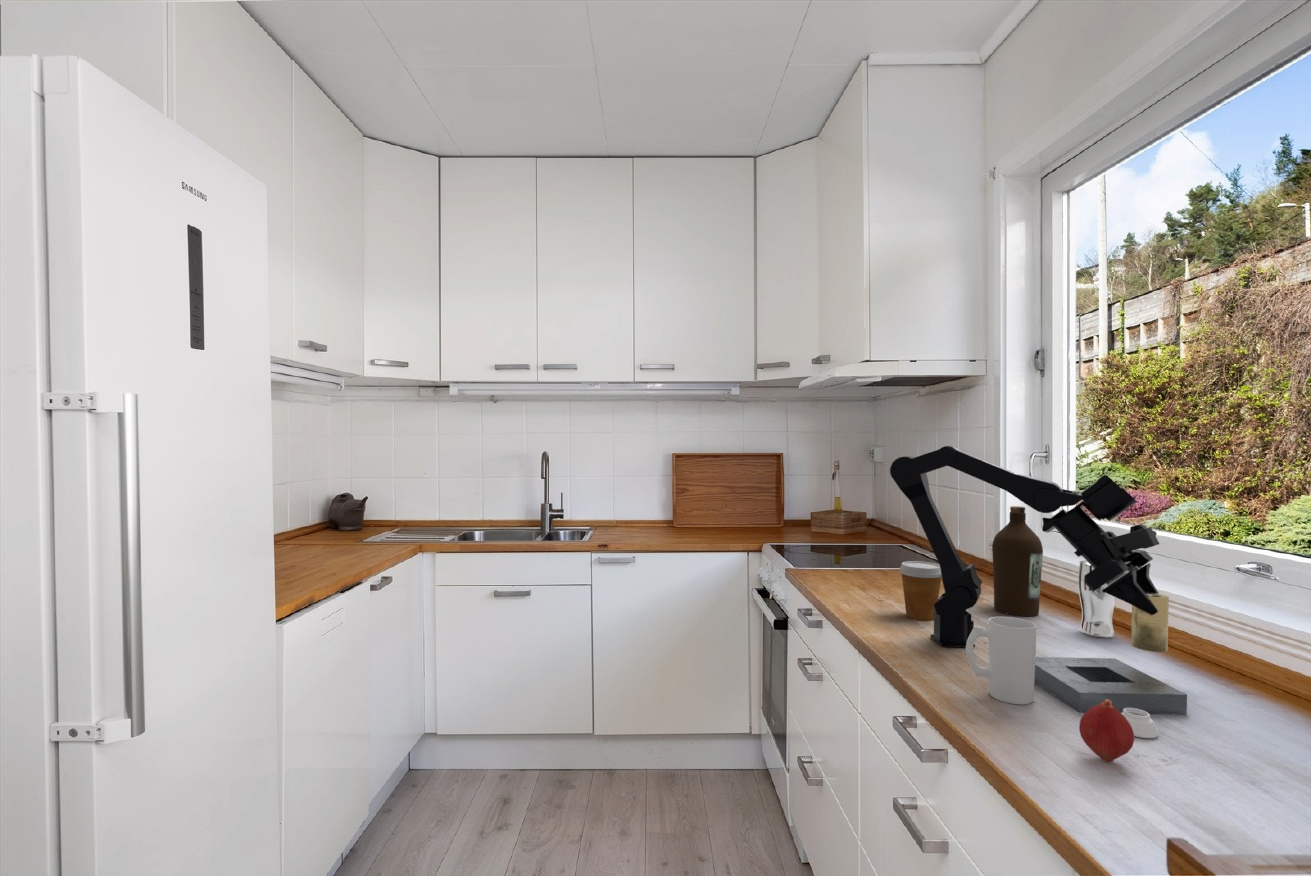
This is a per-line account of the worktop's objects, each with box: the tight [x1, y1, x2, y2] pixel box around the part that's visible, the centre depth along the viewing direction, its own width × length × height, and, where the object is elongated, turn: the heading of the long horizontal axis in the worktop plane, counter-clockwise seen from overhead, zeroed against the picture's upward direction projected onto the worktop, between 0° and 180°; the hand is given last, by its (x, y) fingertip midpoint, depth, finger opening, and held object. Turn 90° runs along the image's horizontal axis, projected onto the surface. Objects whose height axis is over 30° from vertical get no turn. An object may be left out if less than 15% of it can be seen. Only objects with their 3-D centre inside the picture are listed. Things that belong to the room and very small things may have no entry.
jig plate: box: [1034, 656, 1188, 715], centre depth 107 cm, size 16×16×3 cm
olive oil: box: [991, 505, 1044, 617], centre depth 157 cm, size 11×11×25 cm
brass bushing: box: [1130, 592, 1170, 653], centre depth 113 cm, size 5×5×9 cm
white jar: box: [1121, 708, 1159, 739], centre depth 93 cm, size 5×3×5 cm
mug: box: [965, 616, 1038, 705], centre depth 106 cm, size 10×7×12 cm, turn 71°
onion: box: [1078, 699, 1135, 763], centre depth 85 cm, size 6×6×8 cm
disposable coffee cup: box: [899, 560, 942, 621], centre depth 152 cm, size 10×10×12 cm
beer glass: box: [1077, 559, 1117, 639], centre depth 140 cm, size 7×7×15 cm
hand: (1159, 610), depth 112 cm, fingers closed on brass bushing, 5 cm apart
